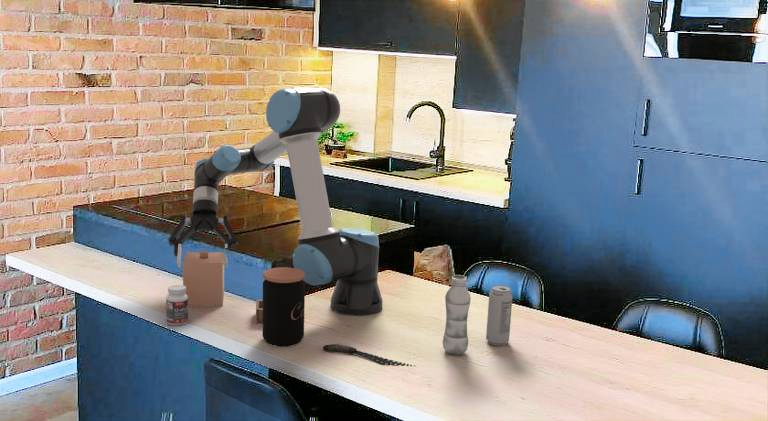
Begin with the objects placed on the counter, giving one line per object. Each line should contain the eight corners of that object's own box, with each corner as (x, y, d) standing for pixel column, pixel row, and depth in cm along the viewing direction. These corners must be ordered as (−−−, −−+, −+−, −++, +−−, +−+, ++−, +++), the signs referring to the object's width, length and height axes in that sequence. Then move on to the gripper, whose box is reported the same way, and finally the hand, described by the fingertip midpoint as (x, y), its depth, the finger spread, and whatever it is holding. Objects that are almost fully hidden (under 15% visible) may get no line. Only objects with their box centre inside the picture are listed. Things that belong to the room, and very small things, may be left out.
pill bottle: (177, 327, 213) (176, 292, 211) (161, 323, 216) (161, 287, 214) (192, 321, 218) (192, 286, 215) (177, 317, 221) (177, 282, 218)
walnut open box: (291, 312, 227) (291, 299, 226) (292, 322, 220) (293, 309, 219) (256, 313, 226) (256, 299, 225) (256, 323, 218) (256, 309, 217)
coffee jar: (296, 349, 201) (297, 281, 198) (256, 344, 203) (256, 277, 200) (309, 334, 212) (310, 269, 208) (270, 330, 214) (271, 265, 210)
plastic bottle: (451, 359, 199) (455, 282, 195) (437, 349, 205) (441, 274, 201) (472, 355, 202) (477, 279, 198) (458, 345, 208) (462, 272, 204)
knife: (422, 380, 190) (430, 371, 194) (423, 373, 189) (430, 364, 194) (318, 354, 200) (328, 346, 205) (318, 347, 200) (328, 339, 204)
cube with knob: (224, 293, 241) (224, 246, 238) (222, 306, 231) (222, 257, 227) (186, 294, 239) (186, 247, 236) (183, 306, 229) (182, 257, 226)
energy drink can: (495, 336, 216) (499, 283, 212) (513, 343, 212) (517, 288, 208) (481, 341, 212) (484, 287, 208) (499, 348, 207) (503, 293, 204)
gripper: (246, 211, 253) (245, 270, 242) (165, 210, 249) (160, 271, 238) (246, 198, 246) (244, 259, 235) (162, 197, 243) (157, 259, 232)
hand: (202, 265), depth 237 cm, fingers open, 13 cm apart
